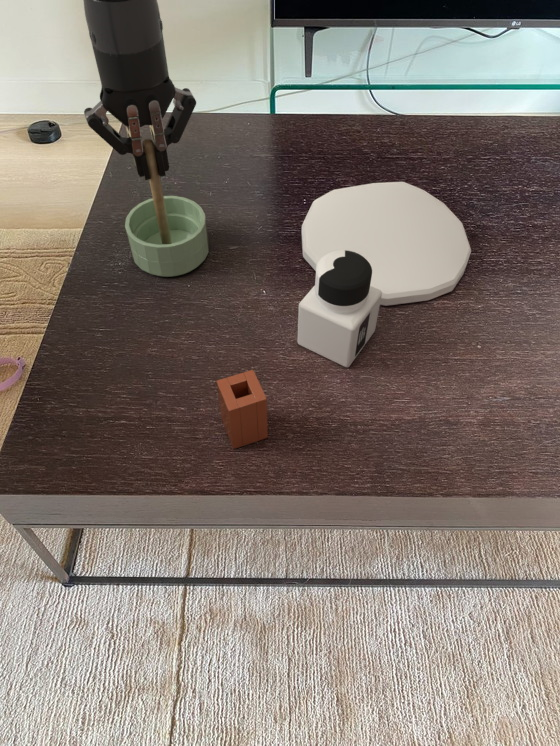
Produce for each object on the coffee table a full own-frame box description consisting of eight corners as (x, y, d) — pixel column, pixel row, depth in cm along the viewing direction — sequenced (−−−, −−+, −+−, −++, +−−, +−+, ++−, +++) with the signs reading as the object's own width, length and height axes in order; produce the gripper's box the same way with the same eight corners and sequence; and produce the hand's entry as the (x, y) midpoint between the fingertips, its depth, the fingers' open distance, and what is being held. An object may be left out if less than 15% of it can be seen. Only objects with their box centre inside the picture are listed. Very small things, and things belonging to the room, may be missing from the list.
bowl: (143, 287, 88) (135, 255, 83) (125, 238, 94) (117, 206, 89) (218, 267, 90) (215, 235, 85) (196, 221, 96) (192, 188, 92)
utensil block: (233, 449, 72) (228, 410, 65) (221, 420, 74) (216, 380, 68) (267, 437, 73) (266, 398, 66) (255, 409, 75) (253, 369, 69)
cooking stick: (164, 252, 88) (142, 143, 75) (161, 246, 89) (139, 137, 75) (173, 250, 89) (153, 141, 75) (171, 244, 90) (151, 134, 76)
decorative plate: (283, 184, 95) (435, 163, 99) (283, 206, 99) (429, 185, 102) (327, 298, 81) (503, 269, 84) (325, 320, 84) (495, 291, 87)
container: (375, 331, 83) (389, 257, 72) (347, 369, 79) (358, 297, 68) (325, 308, 85) (332, 234, 75) (296, 344, 81) (298, 271, 71)
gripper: (179, 8, 69) (196, 147, 83) (55, 29, 66) (94, 170, 80) (199, 38, 65) (213, 179, 79) (67, 62, 62) (106, 204, 76)
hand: (153, 174), depth 79 cm, fingers closed on cooking stick, 1 cm apart
